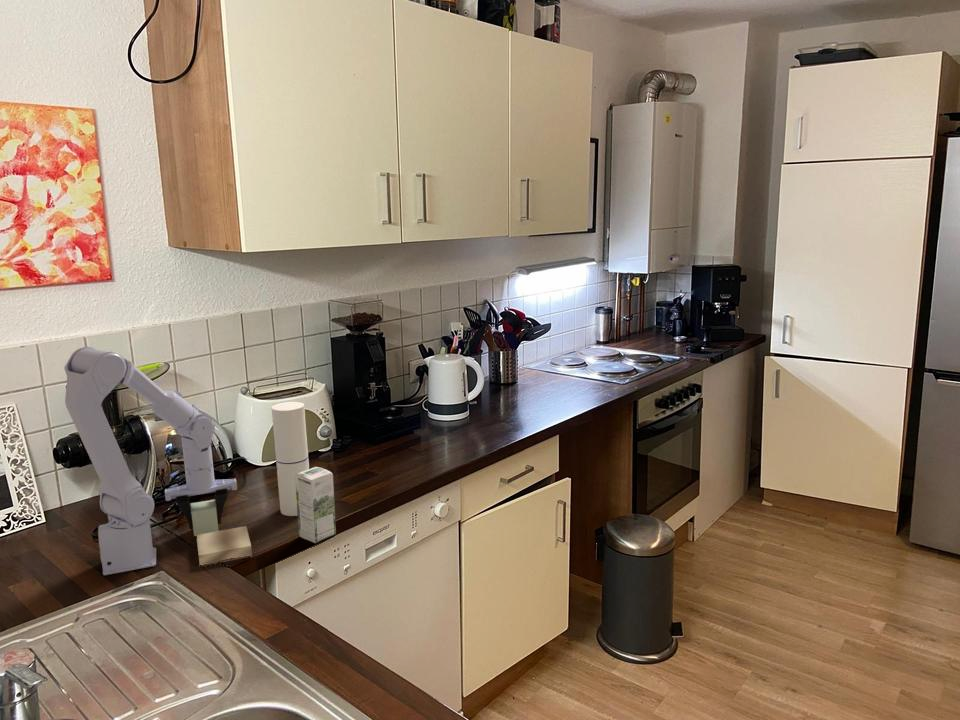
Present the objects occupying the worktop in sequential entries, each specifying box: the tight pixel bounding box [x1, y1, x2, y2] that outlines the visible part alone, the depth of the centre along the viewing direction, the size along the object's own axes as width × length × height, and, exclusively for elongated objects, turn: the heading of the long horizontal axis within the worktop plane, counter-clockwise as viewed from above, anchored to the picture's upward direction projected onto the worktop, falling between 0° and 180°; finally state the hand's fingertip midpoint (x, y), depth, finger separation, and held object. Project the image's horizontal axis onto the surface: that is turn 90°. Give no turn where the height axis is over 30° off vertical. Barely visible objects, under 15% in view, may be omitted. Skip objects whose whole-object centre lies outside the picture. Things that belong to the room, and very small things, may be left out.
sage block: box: [190, 498, 220, 537], centre depth 163 cm, size 5×5×6 cm
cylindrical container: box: [271, 401, 310, 517], centre depth 171 cm, size 7×7×25 cm
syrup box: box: [295, 466, 337, 544], centre depth 159 cm, size 6×6×14 cm
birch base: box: [196, 525, 253, 566], centre depth 154 cm, size 10×10×3 cm
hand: (205, 524), depth 164 cm, fingers closed on sage block, 5 cm apart
